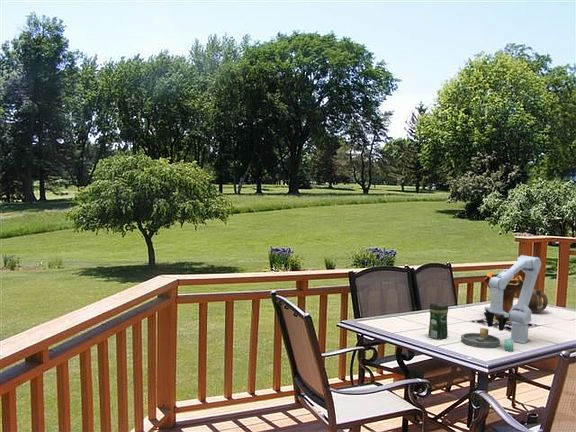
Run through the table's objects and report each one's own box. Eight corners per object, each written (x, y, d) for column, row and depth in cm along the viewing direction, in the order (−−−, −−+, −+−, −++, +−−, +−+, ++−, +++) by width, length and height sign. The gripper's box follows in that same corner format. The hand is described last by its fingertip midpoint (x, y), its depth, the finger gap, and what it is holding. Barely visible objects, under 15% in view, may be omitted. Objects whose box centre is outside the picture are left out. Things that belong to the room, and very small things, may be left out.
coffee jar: (437, 334, 284) (439, 299, 283) (449, 337, 278) (451, 302, 277) (425, 336, 279) (426, 301, 278) (437, 340, 272) (438, 304, 271)
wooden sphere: (520, 308, 350) (521, 286, 349) (545, 311, 345) (546, 288, 344) (522, 313, 336) (523, 290, 335) (548, 316, 331) (550, 292, 330)
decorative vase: (529, 324, 306) (528, 276, 305) (486, 324, 311) (486, 276, 310) (520, 316, 327) (520, 271, 326) (481, 315, 331) (480, 271, 330)
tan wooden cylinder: (481, 337, 276) (482, 327, 276) (489, 338, 273) (489, 329, 273) (478, 338, 273) (478, 329, 273) (486, 340, 270) (486, 330, 270)
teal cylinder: (505, 348, 260) (506, 338, 260) (514, 350, 258) (514, 340, 257) (502, 350, 257) (503, 340, 257) (511, 352, 255) (511, 342, 254)
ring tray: (469, 335, 282) (469, 331, 282) (504, 342, 270) (504, 337, 270) (455, 342, 269) (455, 337, 268) (491, 350, 257) (491, 345, 257)
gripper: (480, 298, 270) (479, 325, 271) (501, 304, 257) (499, 332, 257) (491, 298, 273) (490, 324, 273) (512, 304, 259) (511, 331, 260)
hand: (495, 328), depth 265 cm, fingers open, 7 cm apart
